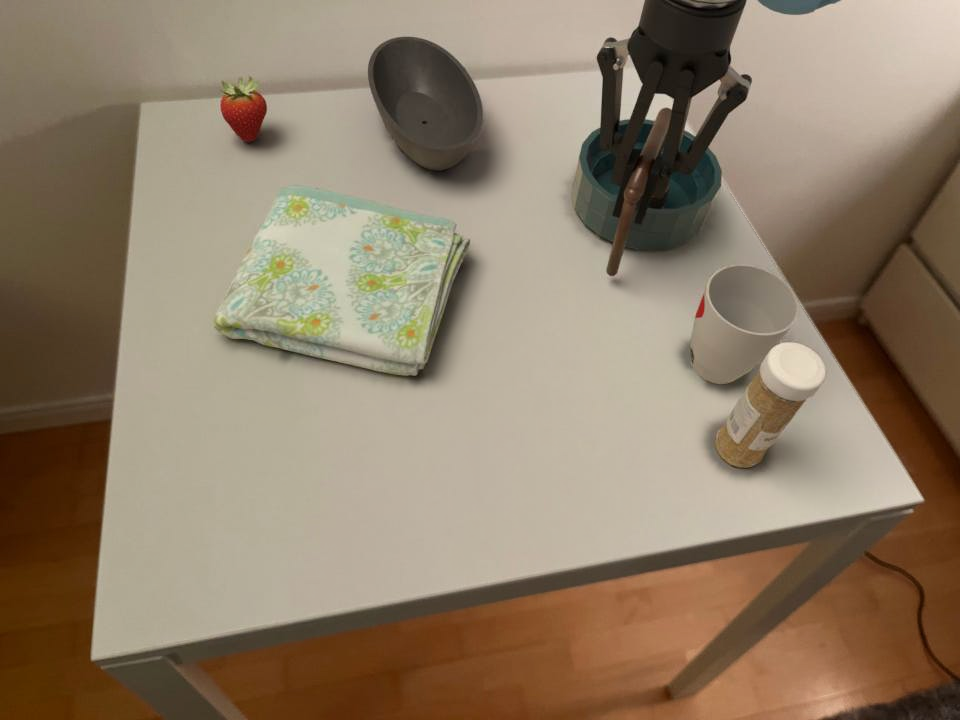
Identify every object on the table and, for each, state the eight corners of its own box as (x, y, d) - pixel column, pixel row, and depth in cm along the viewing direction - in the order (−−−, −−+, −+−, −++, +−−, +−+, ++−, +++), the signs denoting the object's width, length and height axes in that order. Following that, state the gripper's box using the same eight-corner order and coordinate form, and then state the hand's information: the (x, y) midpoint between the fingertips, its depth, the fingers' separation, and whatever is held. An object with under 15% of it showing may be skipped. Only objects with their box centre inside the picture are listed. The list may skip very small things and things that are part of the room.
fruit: (270, 123, 90) (258, 64, 84) (275, 151, 87) (263, 92, 81) (227, 128, 89) (211, 68, 83) (231, 156, 86) (215, 97, 80)
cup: (708, 318, 76) (741, 250, 68) (773, 367, 73) (816, 302, 65) (658, 359, 73) (688, 293, 65) (724, 412, 70) (764, 350, 62)
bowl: (444, 74, 98) (445, 30, 93) (500, 183, 86) (505, 139, 81) (355, 88, 95) (351, 43, 90) (400, 202, 84) (398, 158, 78)
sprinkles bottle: (758, 476, 66) (825, 396, 55) (708, 458, 67) (764, 376, 56) (765, 435, 69) (830, 350, 58) (717, 418, 69) (772, 332, 58)
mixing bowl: (731, 234, 84) (749, 194, 79) (611, 268, 80) (623, 228, 75) (660, 149, 92) (673, 108, 87) (548, 176, 88) (555, 135, 83)
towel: (428, 387, 69) (428, 355, 65) (215, 339, 71) (201, 306, 67) (471, 251, 80) (474, 216, 76) (284, 212, 82) (277, 176, 77)
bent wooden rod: (632, 287, 77) (659, 201, 67) (585, 271, 78) (604, 185, 68) (669, 189, 86) (697, 101, 76) (626, 177, 87) (649, 88, 77)
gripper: (802, -16, 57) (707, 210, 76) (620, -62, 59) (573, 168, 79) (788, 33, 53) (691, 259, 72) (593, -18, 55) (550, 213, 74)
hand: (630, 211), depth 75 cm, fingers closed on bent wooden rod, 2 cm apart
